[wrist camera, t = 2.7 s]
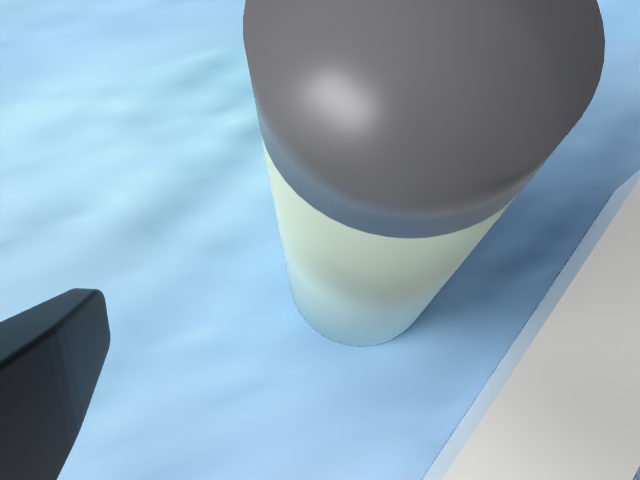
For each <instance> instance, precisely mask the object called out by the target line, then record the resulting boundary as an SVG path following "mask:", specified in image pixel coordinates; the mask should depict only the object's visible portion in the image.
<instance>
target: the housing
mask: <svg viewBox="0 0 640 480" xmlns="http://www.w3.org/2000/svg"><path fill="white" fill-rule="evenodd" d="M639 467H640V170H639V171H637V172H636V173H635V174H634V175H633V176H632V177H630V178H629V179H628V180H627V181H626V182H624V183H623V184H622V185H621V186H620V187H618V188H617V189H616V190H615V191H614V193H613V194H612V196H611V197H610V199H609V200H608V202H607V203H606V205H605V206H604V208H603V209H602V211H601V212H600V214H599V215H598V217H597V218H596V220H595V221H594V223H593V224H592V226H591V227H590V229H589V230H588V232H587V233H586V235H585V236H584V238H583V239H582V241H581V242H580V244H579V245H578V247H577V248H576V250H575V251H574V253H573V254H572V256H571V257H570V259H569V260H568V262H567V263H566V265H565V266H564V268H563V269H562V271H561V272H560V274H559V275H558V277H557V278H556V280H555V281H554V283H553V284H552V286H551V287H550V289H549V290H548V292H547V293H546V295H545V296H544V298H543V299H542V301H541V302H540V304H539V305H538V307H537V308H536V310H535V311H534V313H533V314H532V316H531V317H530V319H529V320H528V321H527V323H526V324H525V326H524V327H523V329H522V330H521V332H520V333H519V335H518V336H517V338H516V339H515V341H514V342H513V344H512V345H511V347H510V348H509V350H508V351H507V353H506V354H505V356H504V357H503V359H502V360H501V362H500V363H499V365H498V366H497V368H496V369H495V371H494V372H493V374H492V375H491V377H490V378H489V380H488V381H487V383H486V384H485V386H484V387H483V389H482V390H481V392H480V393H479V395H478V396H477V398H476V399H475V401H474V402H473V404H472V405H471V407H470V408H469V410H468V411H467V413H466V414H465V416H464V417H463V419H462V420H461V422H460V423H459V425H458V426H457V428H456V429H455V431H454V432H453V434H452V435H451V437H450V438H449V440H448V441H447V443H446V444H445V446H444V447H443V449H442V450H441V452H440V453H439V455H438V456H437V458H436V459H435V461H434V462H433V464H432V465H431V467H430V468H429V470H428V471H427V473H426V474H425V476H424V477H423V479H422V480H632V479H633V478H634V476H635V474H636V472H637V470H638V469H639Z"/></svg>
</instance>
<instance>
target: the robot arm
mask: <svg viewBox="0 0 640 480" xmlns="http://www.w3.org/2000/svg"><path fill="white" fill-rule="evenodd" d="M109 345H110V329H109V323H108V316H107V310H106V303H105V298H104V295H103V293H102V292H101V291H100V290H98V289H83V288H75V289H71V290H69V291H67V292H65V293H63V294H60V295H58V296H56V297H54V298H52V299H50V300H47V301H45V302H43V303H41V304H39V305H37V306H34V307H32V308H30V309H28V310H26V311H24V312H21V313H19V314H17V315H15V316H13V317H11V318H8V319H6V320H4V321H2V322H0V480H57V478H58V476H59V474H60V472H61V470H62V468H63V466H64V463H65V461H66V459H67V457H68V455H69V453H70V451H71V449H72V447H73V445H74V443H75V440H76V438H77V436H78V434H79V431H80V429H81V426H82V423H83V421H84V418H85V415H86V412H87V409H88V407H89V404H90V401H91V398H92V395H93V392H94V390H95V387H96V384H97V381H98V378H99V375H100V373H101V370H102V367H103V364H104V361H105V358H106V355H107V353H108V350H109Z"/></svg>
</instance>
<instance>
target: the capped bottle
mask: <svg viewBox="0 0 640 480" xmlns="http://www.w3.org/2000/svg"><path fill="white" fill-rule="evenodd" d="M243 38H244V44H245V50H246V55H247V61H248V66H249V72H250V77H251V82H252V87H253V93H254V98H255V103H256V109H257V114H258V119H259V125H260V130H261V135H262V140H263V146H264V151H265V156H266V162H267V167H268V172H269V178H270V183H271V188H272V193H273V199H274V204H275V209H276V215H277V220H278V225H279V231H280V236H281V241H282V246H283V252H284V257H285V262H286V268H287V273H288V278H289V284H290V289H291V294H292V297H293V300H294V303H295V305H296V307H297V309H298V311H299V312H300V314H301V316H302V317H303V318H304V320H305V321H306V322H307V323H308V324H309V325H310V326H311V327H312V328H313V329H314V330H315V331H317V332H318V333H319V334H321V335H322V336H324V337H326V338H328V339H330V340H332V341H334V342H337V343H340V344H344V345H349V346H359V347H361V346H372V345H377V344H381V343H384V342H387V341H389V340H391V339H393V338H395V337H397V336H399V335H400V334H401V333H403V332H404V331H405V330H406V329H408V328H409V327H410V326H411V325H412V324H413V322H414V321H415V320H416V319H417V318H418V316H419V315H420V314H421V313H422V311H423V310H424V309H425V308H426V307H427V305H428V304H429V303H430V302H431V300H432V299H433V298H434V297H435V296H436V294H437V293H438V292H439V291H440V289H441V288H442V287H443V286H444V284H445V283H446V282H447V281H448V280H449V278H450V277H451V276H452V275H453V273H454V272H455V271H456V270H457V269H458V267H459V266H460V265H461V264H462V262H463V261H464V260H465V259H466V258H467V256H468V255H469V254H470V253H471V251H472V250H473V249H474V248H475V247H476V245H477V244H478V243H479V242H480V240H481V239H482V238H483V237H484V236H485V234H486V233H487V232H488V231H489V229H490V228H491V227H492V226H493V225H494V223H495V222H496V221H497V220H498V218H499V217H500V216H501V215H502V213H503V212H504V211H505V210H506V209H507V207H508V206H509V205H510V204H511V202H512V201H513V200H514V199H515V198H516V196H517V195H518V194H519V193H520V191H521V190H522V189H523V188H524V187H525V185H526V184H527V183H528V182H529V180H530V179H531V178H532V177H533V176H534V174H535V173H536V172H537V171H538V169H539V168H540V167H541V166H542V165H543V163H544V162H545V161H546V160H547V158H548V157H549V156H550V155H551V153H552V152H553V151H554V150H555V149H556V147H557V146H558V145H559V144H560V142H561V141H562V140H563V139H564V138H565V136H566V135H567V134H568V133H569V131H570V130H571V129H572V128H573V127H574V125H575V124H576V123H577V122H578V120H579V119H580V118H581V117H582V115H583V113H584V112H585V110H586V108H587V107H588V105H589V103H590V102H591V100H592V98H593V96H594V93H595V91H596V88H597V86H598V83H599V81H600V76H601V72H602V67H603V63H604V48H605V38H604V29H603V21H602V17H601V14H600V10H599V6H598V3H597V0H246V3H245V10H244V17H243Z"/></svg>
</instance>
